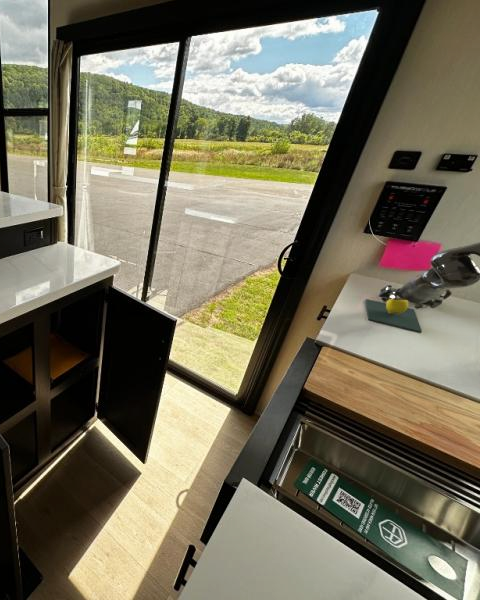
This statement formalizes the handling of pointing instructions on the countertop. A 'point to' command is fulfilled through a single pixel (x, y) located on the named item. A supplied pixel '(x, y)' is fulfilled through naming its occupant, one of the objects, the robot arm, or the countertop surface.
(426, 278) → the robot arm
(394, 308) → the fruit
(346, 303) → the countertop surface
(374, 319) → the mat
